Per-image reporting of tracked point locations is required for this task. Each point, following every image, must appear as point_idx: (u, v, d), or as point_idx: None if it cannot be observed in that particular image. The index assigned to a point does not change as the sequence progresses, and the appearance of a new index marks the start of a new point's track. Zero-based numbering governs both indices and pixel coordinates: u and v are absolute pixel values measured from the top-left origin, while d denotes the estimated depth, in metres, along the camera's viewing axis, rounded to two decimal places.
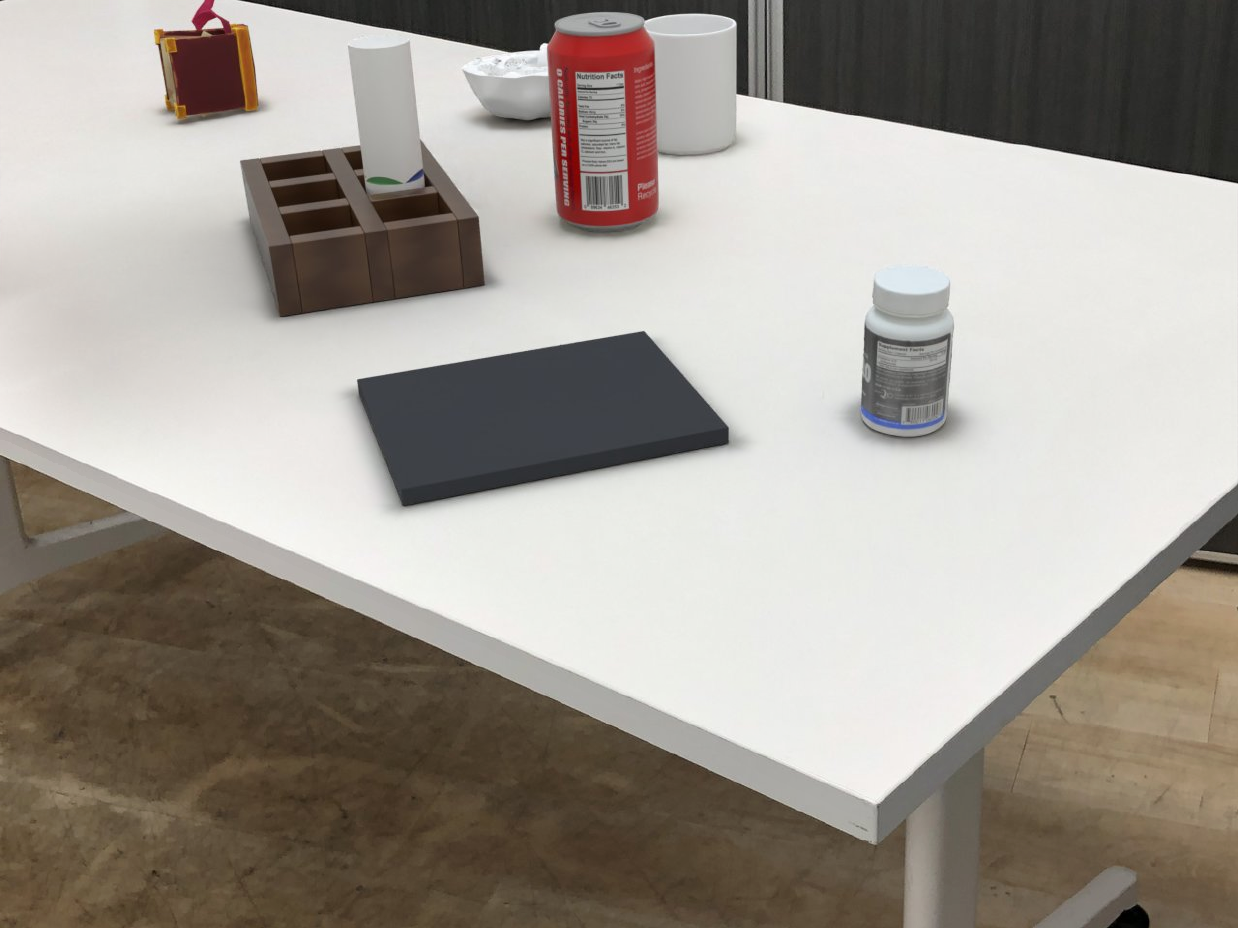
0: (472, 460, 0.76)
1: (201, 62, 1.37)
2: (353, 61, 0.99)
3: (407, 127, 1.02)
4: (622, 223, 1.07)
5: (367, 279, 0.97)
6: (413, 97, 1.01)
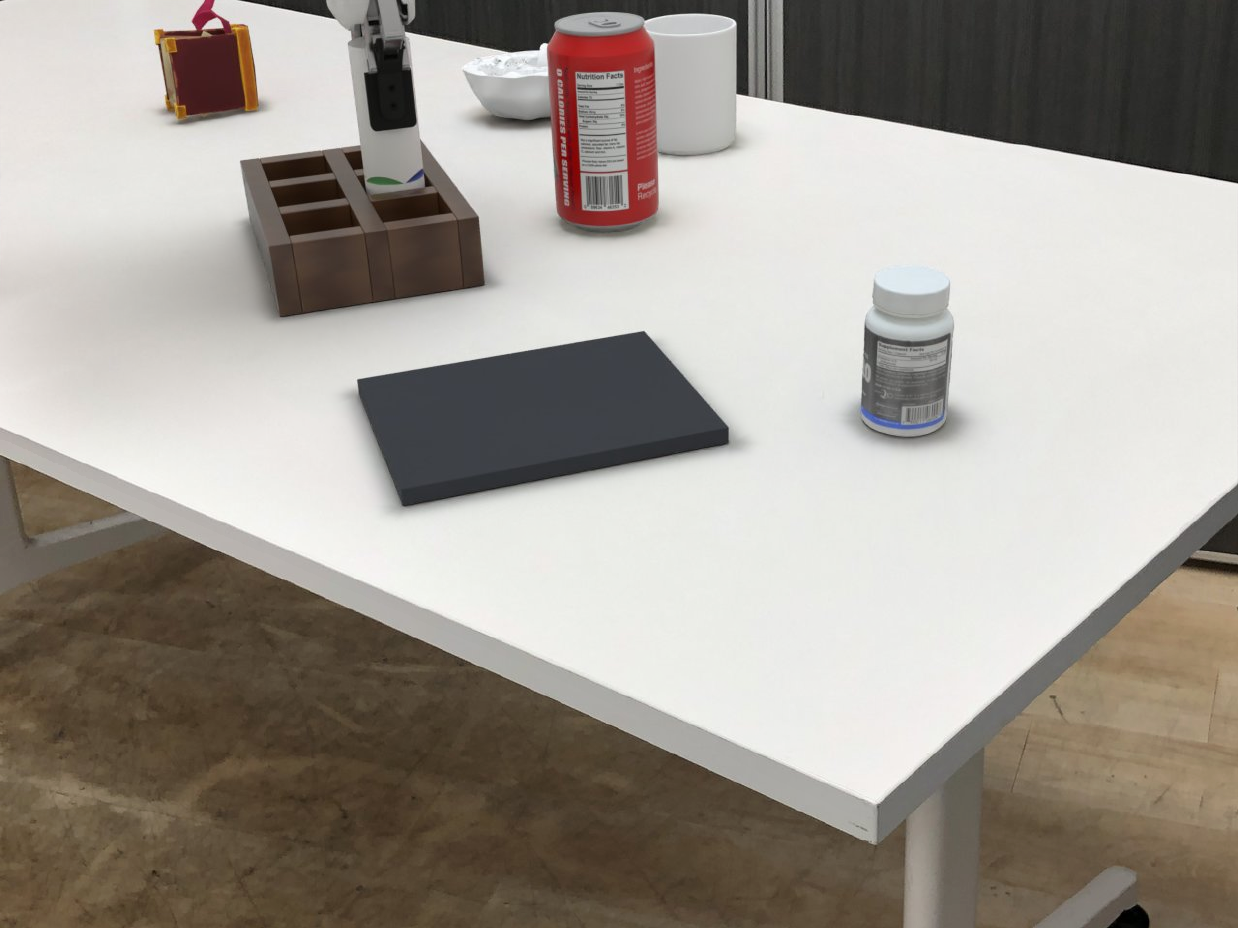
0: (472, 460, 0.76)
1: (201, 62, 1.37)
2: (353, 61, 0.99)
3: None
4: (622, 223, 1.07)
5: (367, 279, 0.97)
6: None
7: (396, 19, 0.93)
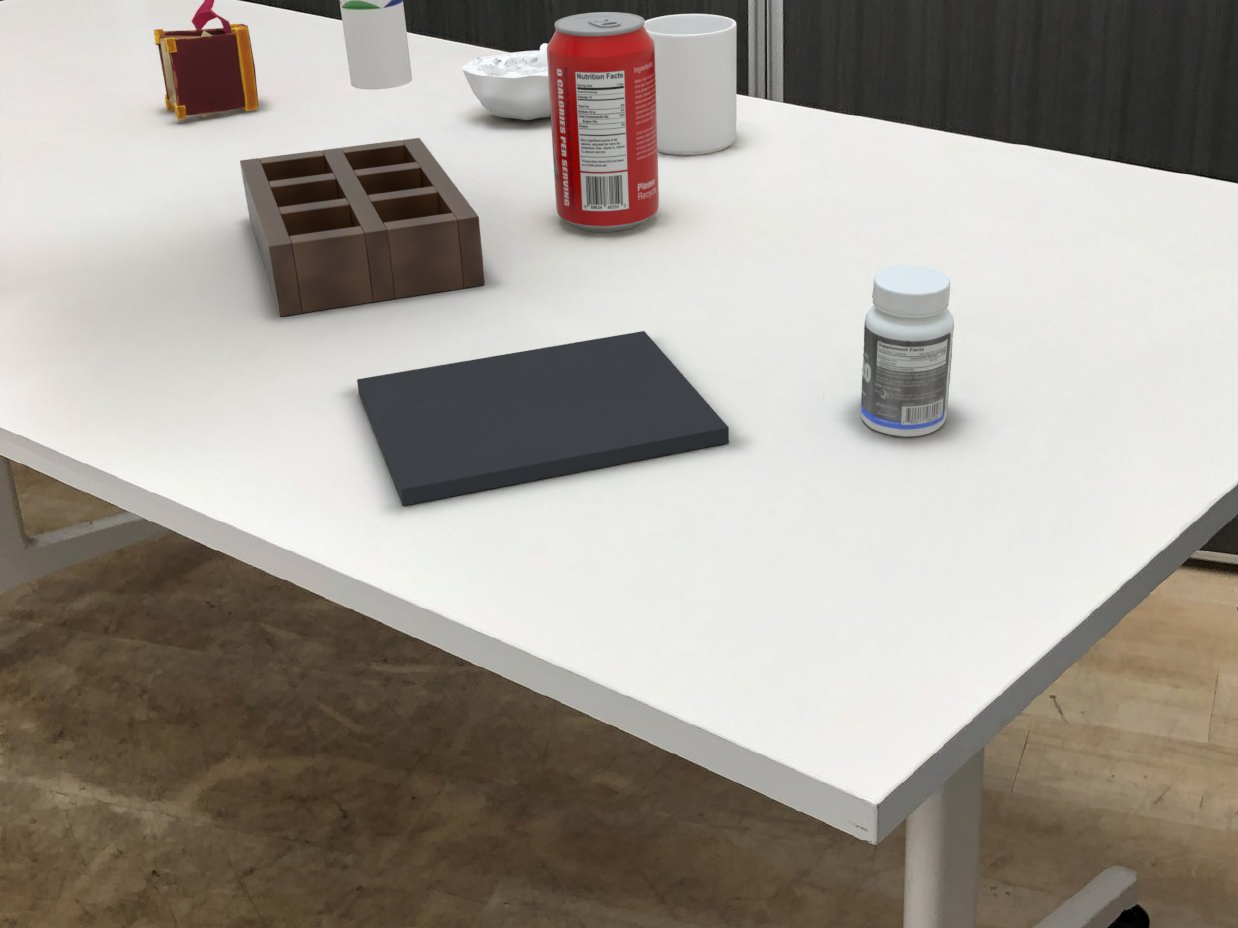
0: (472, 460, 0.76)
1: (201, 62, 1.37)
2: None
3: None
4: (622, 223, 1.07)
5: (367, 279, 0.97)
6: None
7: None
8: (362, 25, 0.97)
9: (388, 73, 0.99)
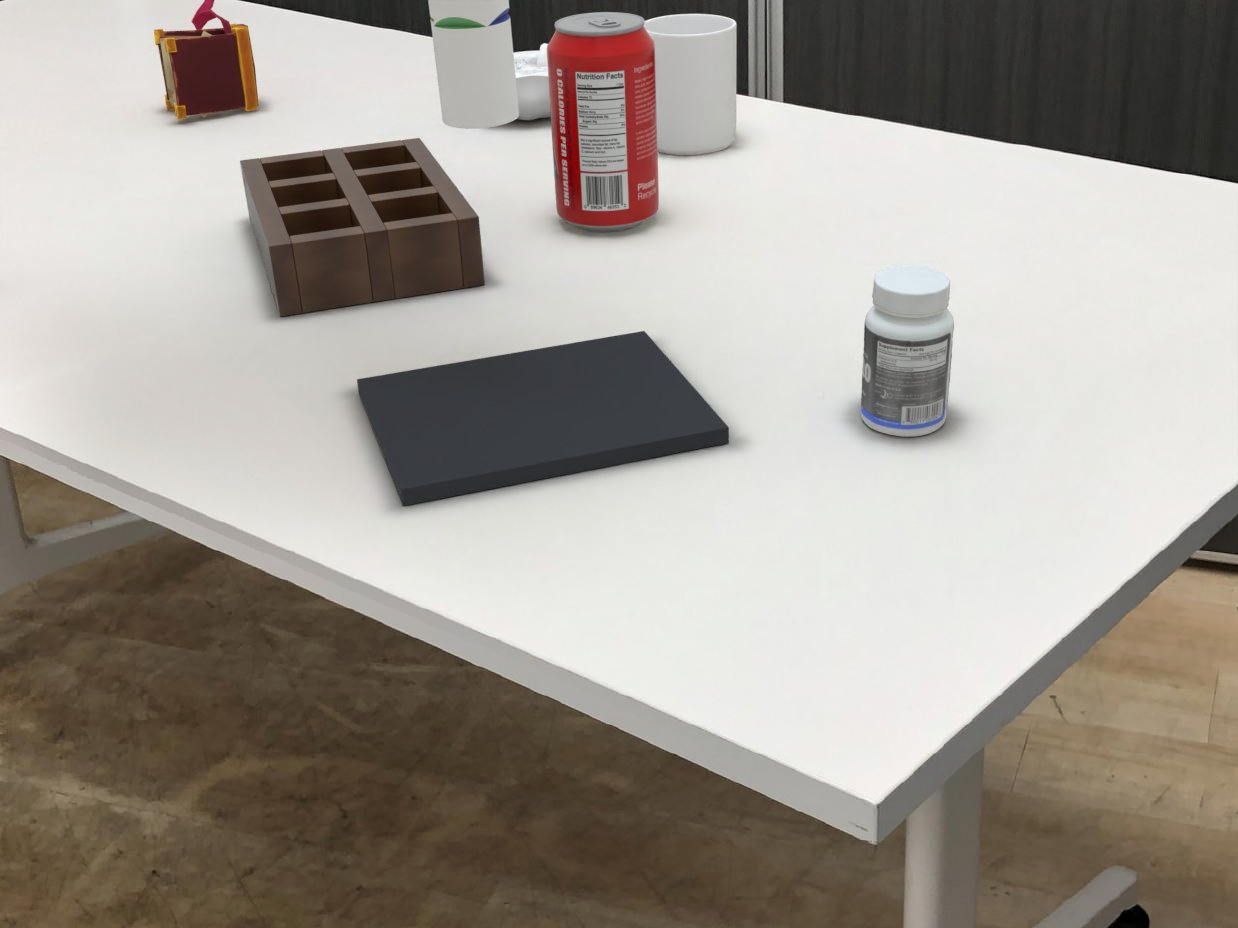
0: (472, 460, 0.76)
1: (201, 62, 1.37)
2: None
3: None
4: (622, 223, 1.07)
5: (367, 279, 0.97)
6: None
7: None
8: (462, 48, 0.77)
9: (492, 108, 0.78)
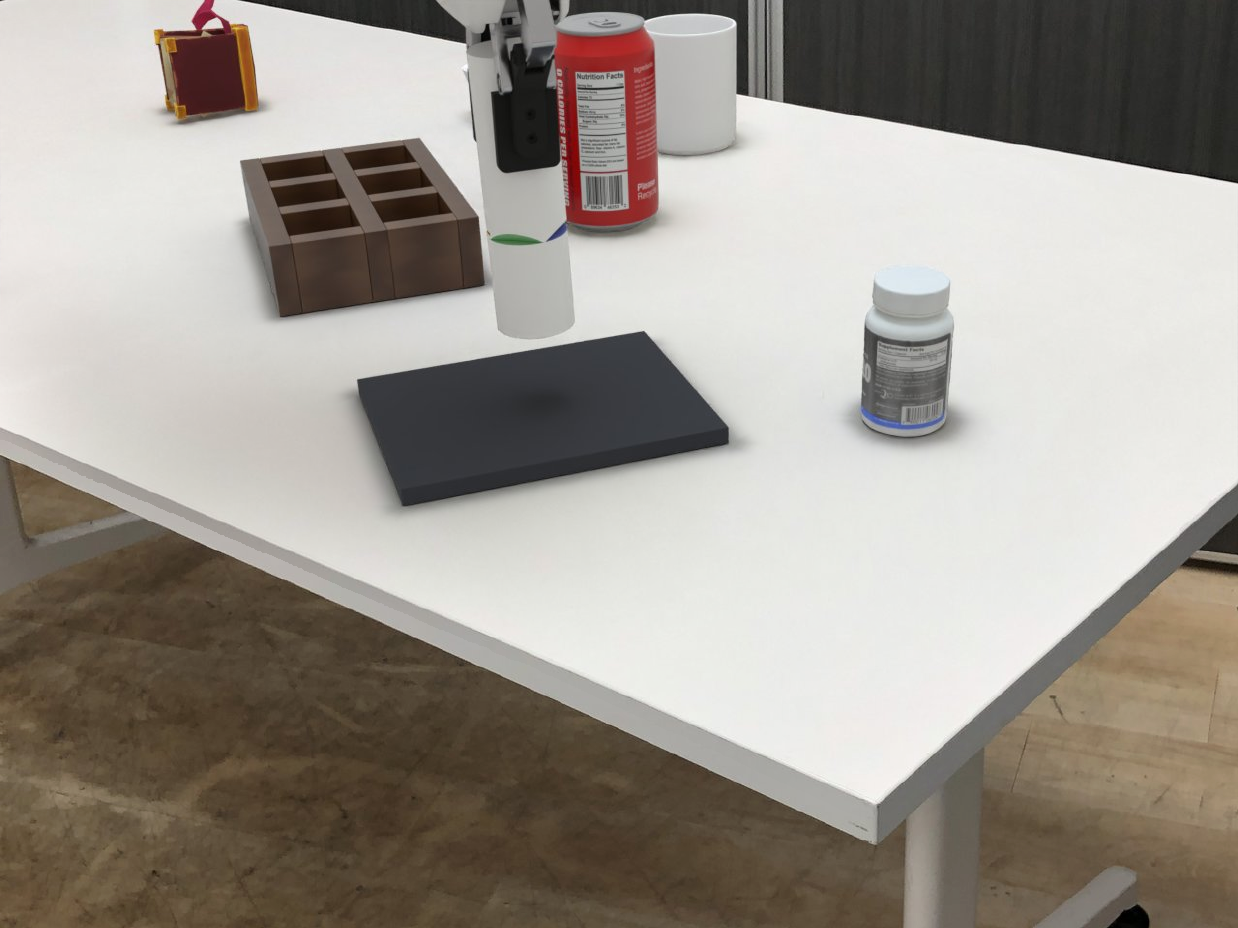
0: (472, 460, 0.76)
1: (201, 62, 1.37)
2: (476, 76, 0.71)
3: None
4: (622, 223, 1.07)
5: (367, 279, 0.97)
6: None
7: (547, 16, 0.65)
8: (519, 263, 0.75)
9: (548, 320, 0.77)
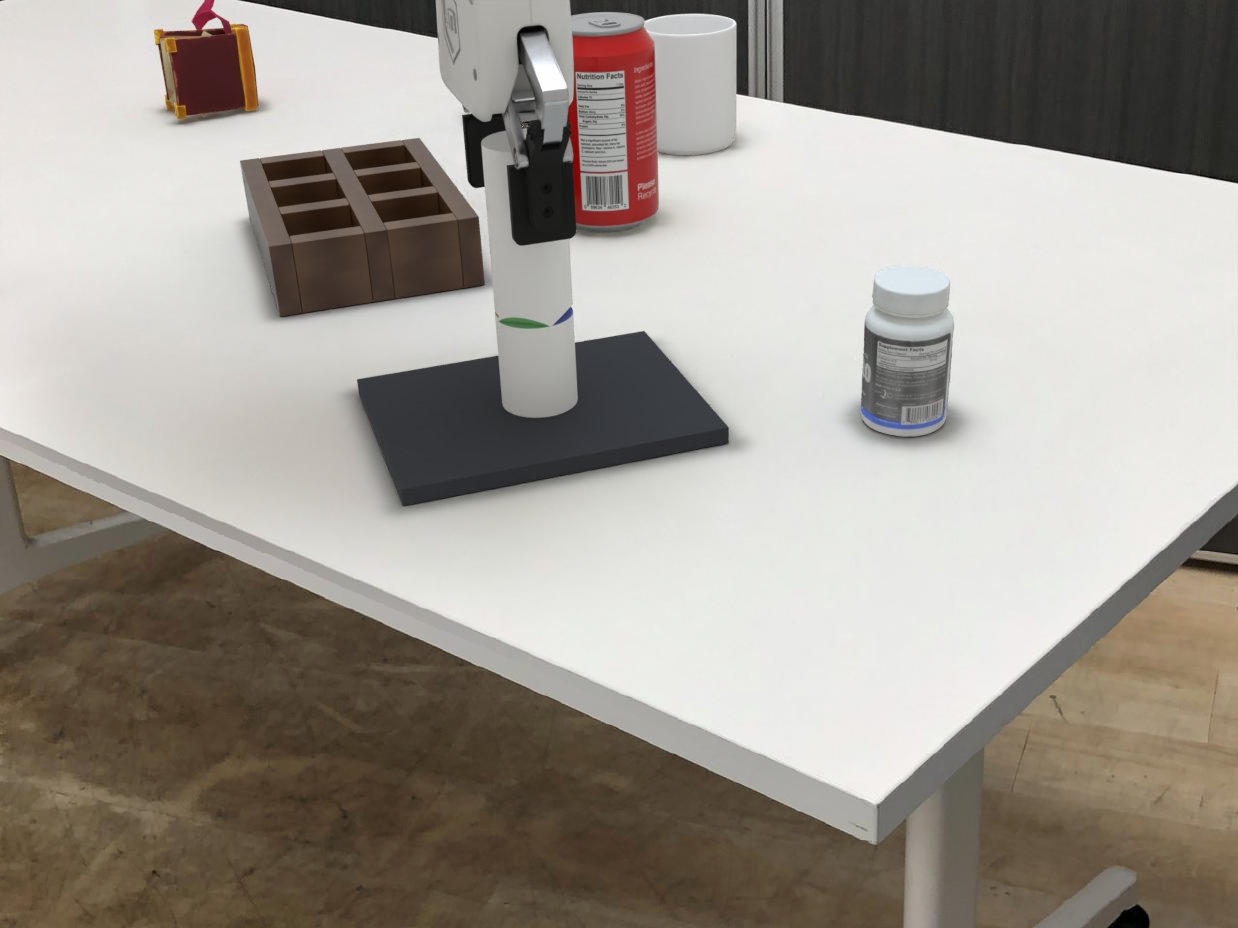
0: (472, 460, 0.76)
1: (201, 62, 1.37)
2: (490, 168, 0.74)
3: (558, 254, 0.76)
4: (622, 223, 1.07)
5: (367, 279, 0.97)
6: None
7: (557, 76, 0.65)
8: (525, 345, 0.78)
9: (552, 399, 0.79)
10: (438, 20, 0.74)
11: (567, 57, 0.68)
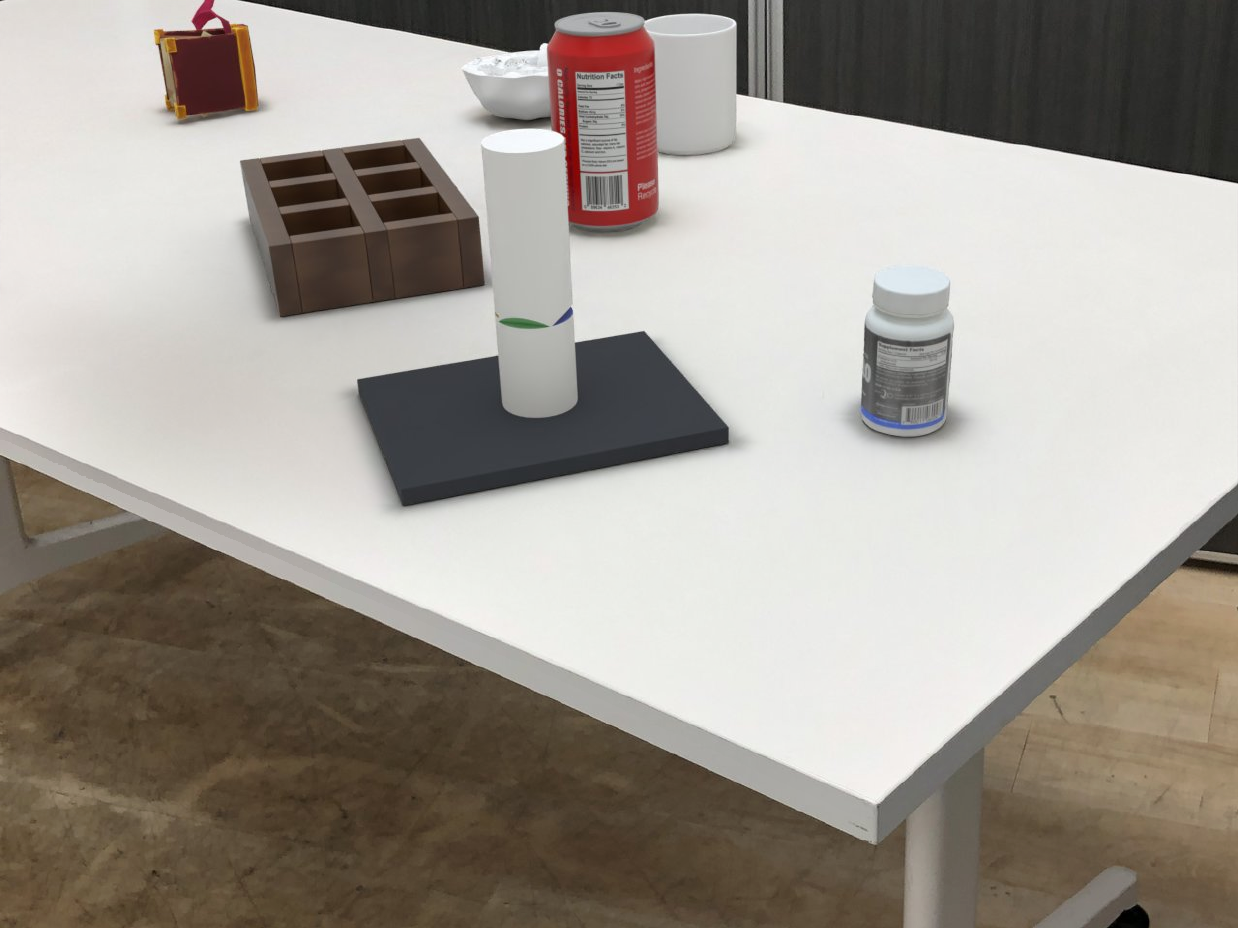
0: (472, 460, 0.76)
1: (201, 62, 1.37)
2: (490, 168, 0.74)
3: (558, 254, 0.76)
4: (622, 223, 1.07)
5: (367, 279, 0.97)
6: (566, 213, 0.76)
7: None
8: (525, 345, 0.78)
9: (552, 400, 0.79)
10: None
11: None
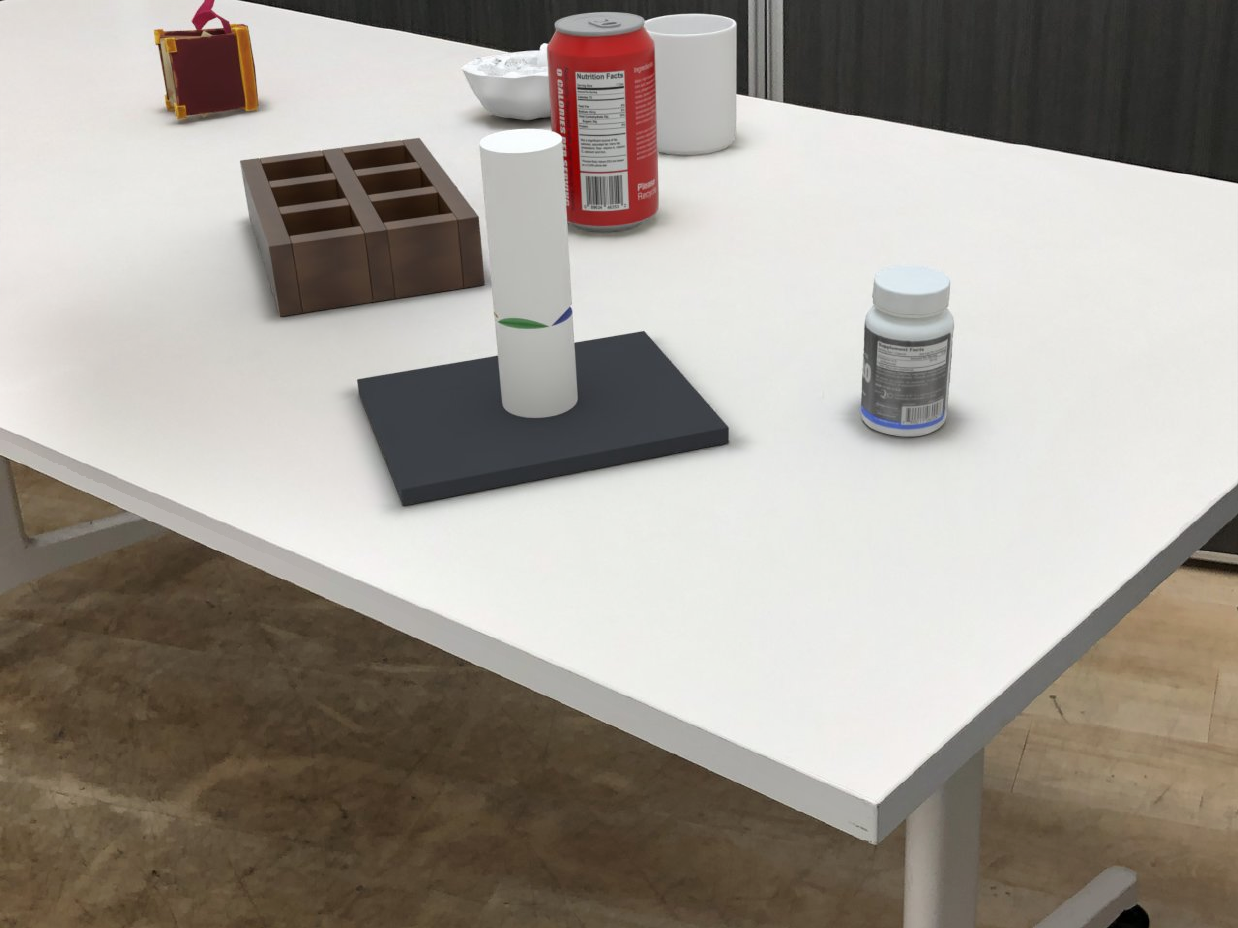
0: (472, 460, 0.76)
1: (201, 62, 1.37)
2: (488, 168, 0.74)
3: (557, 254, 0.76)
4: (622, 223, 1.07)
5: (367, 279, 0.97)
6: (564, 213, 0.76)
7: None
8: (525, 346, 0.78)
9: (552, 400, 0.79)
10: None
11: None
